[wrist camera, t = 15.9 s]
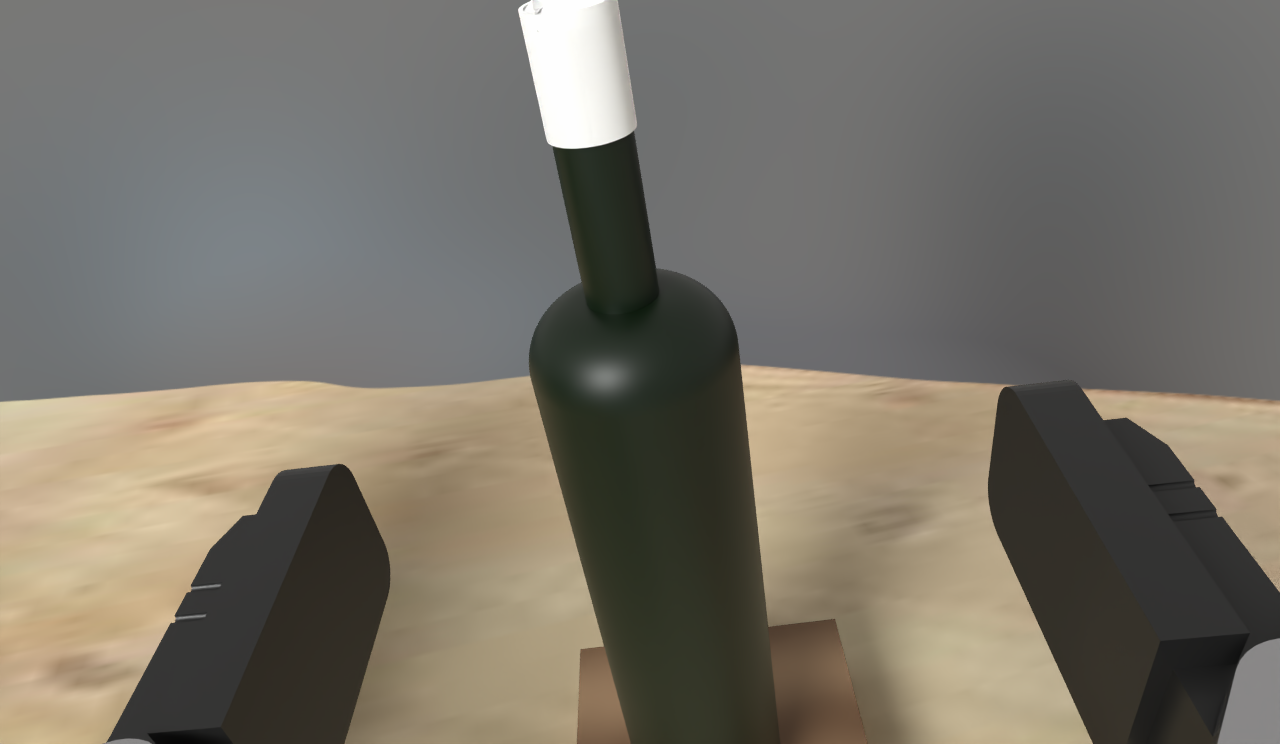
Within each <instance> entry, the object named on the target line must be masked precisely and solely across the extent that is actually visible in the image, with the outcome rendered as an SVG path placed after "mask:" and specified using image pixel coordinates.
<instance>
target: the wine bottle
mask: <svg viewBox="0 0 1280 744" xmlns="http://www.w3.org/2000/svg"><path fill="white" fill-rule="evenodd" d="M518 11H519V16H520V20H521V25H522V29H523V34H524V38H525V43H526V47H527V52H528V56H529V61H530V66H531V70H532V75H533V79H534V84H535V88H536V93H537V98H538V102H539V107H540V111H541V116H542V120H543V125H544V130H545V134H546V139H547V142H548V143H549V144H550V145H552V147H553V151H554V156H555V161H556V165H557V170H558V174H559V179H560V184H561V189H562V193H563V198H564V202H565V207H566V212H567V216H568V221H569V225H570V230H571V234H572V239H573V244H574V248H575V253H576V258H577V262H578V267H579V272H580V276H581V281H582V282H581V283H580V284H577V285H576V286H574V287H572V288H571V289H569V290H568V291H566V292H565V293H564V294H563V295H562V296H560V297H559V298H558V299H557V300H556V301H555V302H554V303H553V304H552V305H551V306H550V307H549V308H548V309H547V311H546V312H545V313H544V315H543V316H542V318H541V320H540V321H539V323H538V325H537V327H536V329H535V332H534V335H533V337H532V341H531V345H530V352H529V370H530V377H531V381H532V385H533V388H534V392H535V396H536V399H537V403H538V406H539V410H540V414H541V417H542V421H543V425H544V428H545V432H546V436H547V439H548V443H549V447H550V450H551V454H552V458H553V461H554V465H555V469H556V472H557V476H558V479H559V483H560V487H561V490H562V494H563V498H564V501H565V505H566V509H567V512H568V516H569V520H570V523H571V527H572V531H573V534H574V538H575V542H576V545H577V549H578V552H579V556H580V560H581V563H582V567H583V571H584V574H585V578H586V582H587V585H588V589H589V593H590V596H591V600H592V604H593V607H594V611H595V615H596V618H597V622H598V625H599V629H600V633H601V636H602V640H603V644H604V647H605V651H606V655H607V658H608V662H609V666H610V669H611V673H612V677H613V680H614V684H615V688H616V691H617V695H618V698H619V702H620V706H621V709H622V713H623V717H624V720H625V724H626V728H627V731H628V735H629V739H630V742H631V744H780V736H779V726H778V717H777V707H776V698H775V688H774V679H773V669H772V660H771V650H770V640H769V631H768V621H767V612H766V602H765V593H764V583H763V574H762V564H761V555H760V545H759V536H758V526H757V517H756V507H755V498H754V488H753V479H752V469H751V460H750V450H749V441H748V431H747V421H746V412H745V402H744V393H743V383H742V374H741V364H740V355H739V345H738V338H737V333H736V329H735V326H734V323H733V321H732V318H731V316H730V314H729V312H728V311H727V309H726V308H725V306H724V305H723V303H722V302H721V301H720V300H719V298H718V297H717V296H716V295H715V294H714V293H713V292H712V291H710V290H709V289H708V288H707V287H705V286H704V285H703V284H701V283H699V282H698V281H696V280H694V279H692V278H690V277H688V276H686V275H683V274H680V273H677V272H673V271H668V270H664V269H657V268H656V265H655V260H654V253H653V247H652V241H651V234H650V228H649V222H648V216H647V209H646V203H645V198H644V191H643V184H642V178H641V172H640V165H639V160H638V153H637V147H636V140H635V134H634V130H635V128H636V127H637V121H636V114H635V108H634V102H633V95H632V89H631V82H630V76H629V70H628V63H627V57H626V50H625V44H624V38H623V32H622V25H621V19H620V13H619V6H618V0H531V1H530V2H528V3H526V4H524V5H522V6H521V7H520V8H519V10H518Z"/></svg>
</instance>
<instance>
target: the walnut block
mask: <svg viewBox="0 0 1280 744" xmlns="http://www.w3.org/2000/svg"><path fill="white" fill-rule="evenodd" d="M768 631H769V640H770V650H771V660H772V669H773V679H774V688H775V698H776V707H777V717H778V726H779V736H780V744H868V743H867V739H866V736H865V732H864V728H863V724H862V720H861V717H860V713H859V709H858V705H857V701H856V698H855V694H854V690H853V686H852V682H851V679H850V675H849V671H848V667H847V663H846V660H845V656H844V652H843V648H842V644H841V641H840V637H839V633H838V629H837V625H836V622H835V619H831V620H823V621H815V622H806V623H798V624H789V625H781V626H773V627H768ZM577 744H631V742H630V739H629V735H628V731H627V728H626V724H625V720H624V717H623V713H622V709H621V706H620V702H619V698H618V695H617V691H616V688H615V684H614V680H613V677H612V673H611V669H610V666H609V662H608V658H607V655H606V651H605V647H597V648H588V649H581V654H580V680H579V706H578V732H577Z"/></svg>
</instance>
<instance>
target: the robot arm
mask: <svg viewBox="0 0 1280 744" xmlns="http://www.w3.org/2000/svg"><path fill="white" fill-rule="evenodd" d="M988 497H989V505H990V511H991V515H992V519H993V523H994V526H995V529H996V532H997V534H998V536H999V538H1000V541H1001V543H1002V545H1003V547H1004V549H1005V552H1006V554H1007V556H1008V558H1009V560H1010V563H1011V565H1012V567H1013V569H1014V571H1015V574H1016V576H1017V578H1018V580H1019V582H1020V584H1021V587H1022V589H1023V591H1024V593H1025V595H1026V598H1027V600H1028V602H1029V604H1030V606H1031V609H1032V611H1033V613H1034V615H1035V617H1036V620H1037V622H1038V624H1039V626H1040V628H1041V631H1042V633H1043V635H1044V637H1045V639H1046V641H1047V644H1048V646H1049V648H1050V650H1051V652H1052V655H1053V657H1054V659H1055V661H1056V663H1057V666H1058V668H1059V670H1060V672H1061V674H1062V677H1063V679H1064V681H1065V683H1066V685H1067V688H1068V690H1069V692H1070V694H1071V696H1072V698H1073V701H1074V703H1075V705H1076V707H1077V709H1078V712H1079V714H1080V716H1081V718H1082V720H1083V723H1084V725H1085V727H1086V729H1087V731H1088V734H1089V736H1090V738H1091V740H1092V742H1093V744H1280V592H1279V591H1278V590H1277V588H1276V587H1275V586H1274V585H1273V583H1272V582H1271V581H1270V579H1269V578H1268V577H1267V575H1266V574H1265V573H1264V571H1263V570H1262V569H1261V567H1260V566H1259V565H1258V563H1257V562H1256V561H1255V559H1254V558H1253V557H1252V556H1251V554H1250V553H1249V552H1248V550H1247V549H1246V548H1245V546H1244V545H1243V544H1242V542H1241V541H1240V540H1239V538H1238V537H1237V536H1236V534H1235V533H1234V532H1233V530H1232V529H1231V528H1230V526H1229V525H1228V524H1227V523H1226V521H1225V520H1224V519H1223V517H1218V516H1217V514H1216V508H1215V507H1214V505H1213V504H1212V503H1211V501H1210V500H1209V499H1208V497H1207V496H1206V495H1205V494H1204V492H1203V491H1202V490H1201V488H1200V487H1197V488H1196V487H1195V484H1194V479H1193V478H1192V476H1191V475H1190V474H1189V472H1188V471H1187V470H1186V468H1185V467H1184V466H1183V465H1182V463H1181V462H1180V461H1179V459H1178V458H1177V457H1176V455H1175V454H1174V453H1173V451H1172V450H1171V449H1170V447H1169V446H1168V445H1167V444H1165V443H1164V442H1162V441H1161V440H1159V439H1158V438H1156V437H1155V436H1153V435H1152V434H1150V433H1149V432H1147V431H1146V430H1144V429H1143V428H1141V427H1140V426H1138V425H1137V424H1135V423H1134V422H1132V421H1131V420H1129V419H1128V418H1120V419H1111V420H1103V419H1102V418H1101V416H1100V415H1099V413H1098V412H1097V411H1096V409H1095V408H1094V406H1093V405H1092V403H1091V402H1090V400H1089V399H1088V398H1087V396H1086V395H1085V393H1084V392H1083V390H1082V389H1081V388H1080V387H1079V385H1078V384H1077V383H1076V382H1074V381H1072V380H1063V381H1054V382H1046V383H1037V384H1028V385H1019V386H1010V387H1005V388H1003V389H1002V391H1001V393H1000V395H999V399H998V405H997V413H996V421H995V429H994V437H993V446H992V454H991V462H990V470H989V478H988ZM191 587H192V590H191V592H188V593H187V594H186V595H185V597H184V599H183V601H182V603H181V605H180V607H179V608H178V610H177V612H176V614H175V617H176V620H175V623H170V625H169V627H168V629H167V631H166V633H165V635H164V637H163V638H162V640H161V642H160V644H159V646H158V648H157V650H156V652H155V653H154V655H153V657H152V659H151V661H150V663H149V665H148V666H147V668H146V670H145V672H144V674H143V676H142V678H141V680H140V681H139V683H138V685H137V687H136V689H135V691H134V693H133V695H132V696H131V698H130V700H129V702H128V704H127V706H126V708H125V709H124V711H123V713H122V715H121V717H120V719H119V721H118V723H117V724H116V726H115V728H114V730H113V732H112V734H111V736H110V737H109V739H108V741H107V742H106V743H104V744H344V743H345V739H346V736H347V733H348V729H349V726H350V722H351V719H352V716H353V712H354V709H355V705H356V702H357V699H358V695H359V692H360V689H361V685H362V682H363V678H364V675H365V672H366V668H367V665H368V661H369V658H370V655H371V651H372V648H373V645H374V641H375V638H376V634H377V631H378V628H379V624H380V621H381V618H382V614H383V611H384V607H385V604H386V601H387V597H388V593H389V587H390V563H389V557H388V552H387V549H386V546H385V544H384V541H383V539H382V537H381V535H380V533H379V531H378V528H377V526H376V524H375V522H374V520H373V517H372V515H371V513H370V511H369V509H368V506H367V504H366V502H365V500H364V498H363V496H362V493H361V491H360V489H359V487H358V485H357V482H356V480H355V478H354V476H353V474H352V472H351V471H350V470H349V468H347V467H346V466H345V465H343V464H336V465H327V466H318V467H309V468H300V469H291V470H284V471H281V472H280V473H278V475H277V476H276V477H275V478H274V480H273V482H272V484H271V486H270V488H269V490H268V492H267V494H266V496H265V498H264V500H263V502H262V504H261V506H260V508H259V510H258V512H257V514H256V515H247V516H242V517H241V518H240V519H239V520H238V521H237V522H236V524H235V525H234V526H233V527H232V528H231V529H230V530H229V531H228V532H227V533H226V534H225V535H224V536H223V537H222V538H221V539H220V540H219V541H218V542H217V543H216V544H215V545H214V546H213V547H212V548H211V549H210V550H209V552H208V554H207V556H206V558H205V560H204V562H203V564H202V565H201V567H200V569H199V571H198V573H197V575H196V577H195V579H194V580H193V582H192V584H191Z"/></svg>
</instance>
